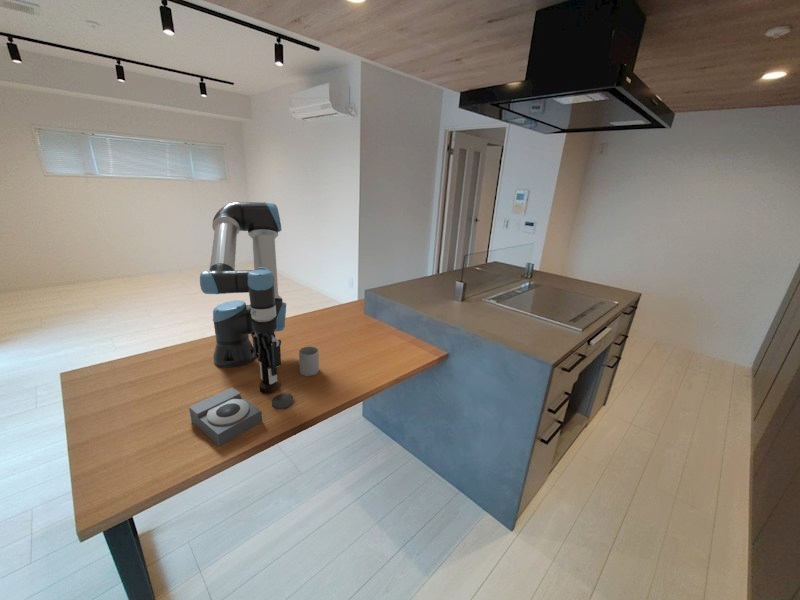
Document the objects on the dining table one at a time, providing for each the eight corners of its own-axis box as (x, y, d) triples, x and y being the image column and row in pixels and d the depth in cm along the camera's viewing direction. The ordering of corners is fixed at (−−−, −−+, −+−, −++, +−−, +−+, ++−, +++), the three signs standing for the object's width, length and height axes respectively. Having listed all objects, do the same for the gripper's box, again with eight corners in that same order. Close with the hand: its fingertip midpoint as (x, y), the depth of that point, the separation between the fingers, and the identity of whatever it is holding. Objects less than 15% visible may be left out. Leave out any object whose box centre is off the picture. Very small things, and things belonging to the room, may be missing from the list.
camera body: (191, 421, 100) (188, 406, 98) (233, 400, 110) (231, 387, 108) (219, 446, 91) (217, 430, 89) (262, 421, 101) (261, 407, 100)
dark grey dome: (267, 403, 109) (266, 400, 109) (285, 393, 115) (284, 390, 115) (280, 412, 106) (280, 409, 105) (298, 401, 111) (298, 398, 111)
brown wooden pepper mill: (273, 381, 122) (270, 336, 116) (283, 388, 118) (280, 342, 112) (255, 388, 117) (251, 342, 111) (265, 396, 113) (262, 349, 107)
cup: (304, 378, 125) (303, 357, 122) (293, 366, 132) (292, 346, 129) (322, 372, 129) (321, 352, 126) (310, 361, 136) (310, 342, 133)
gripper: (238, 314, 110) (245, 375, 118) (269, 328, 101) (274, 394, 109) (258, 308, 116) (264, 367, 123) (290, 321, 107) (293, 384, 114)
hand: (269, 379), depth 116 cm, fingers closed on brown wooden pepper mill, 4 cm apart
